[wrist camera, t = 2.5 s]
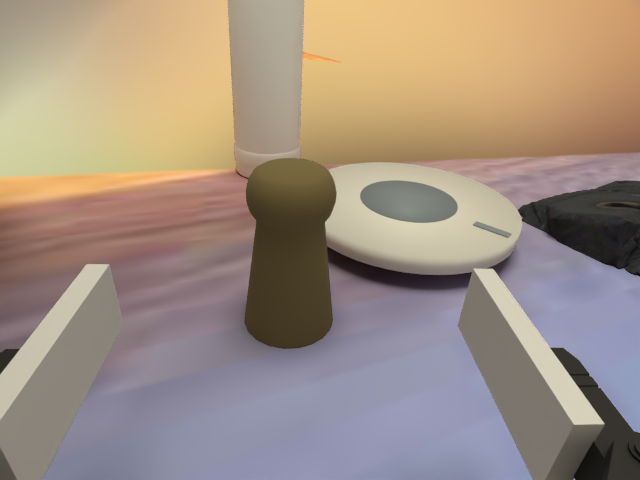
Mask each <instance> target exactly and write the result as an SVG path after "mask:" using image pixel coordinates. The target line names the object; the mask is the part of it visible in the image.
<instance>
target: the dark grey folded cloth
mask: <svg viewBox="0 0 640 480" xmlns="http://www.w3.org/2000/svg"><path fill="white" fill-rule="evenodd" d="M518 212H519V214H520V215H522V217H523V219H522V221H523V222H525V223H527V224H529V225H531V226H533V227H536V228H537V229H540V230H542V231H544V232H546V233H548V234H550V235H552V237H554V238H555V239H556V240H557V241H559V242H560V243H562V244H564V245H566V246H568V247H570V248H572V249H574V250H576V251H578V252H581V253H583V254H585V255H587V256H589V257H591V258H593V259H595V260H598V261H600V262H602V263H604V264H607V265H613V266H615V267H617V268H618V269H619V268H624V269H625V270H626V271H628V272H630V273H632V274H634V275H638V274H640V181H615V182H612V183H610V184H607V185H604V186H601V187H598V188H596V189H591V190H582V191H576V192H572V193H564V194H561V195H556V196H553V197H549V198H546V199H542V200H539V201H537V202H531V203H530V204H528V205H523V206H522V207H521V208H520V209H519V210H518ZM624 266H626V267H624Z"/></svg>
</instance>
